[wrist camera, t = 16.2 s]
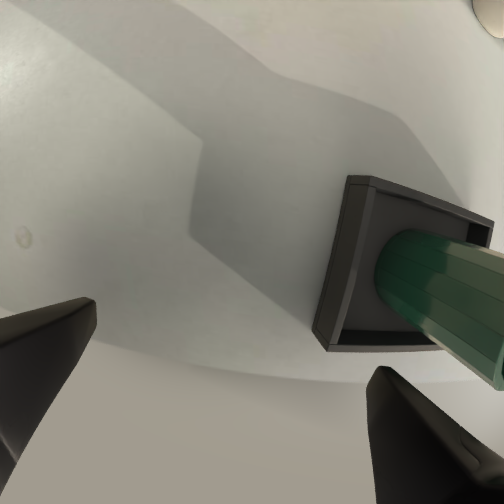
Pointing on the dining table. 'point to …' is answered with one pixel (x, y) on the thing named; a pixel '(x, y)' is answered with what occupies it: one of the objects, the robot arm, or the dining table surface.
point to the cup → (491, 15)
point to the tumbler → (448, 296)
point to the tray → (365, 258)
